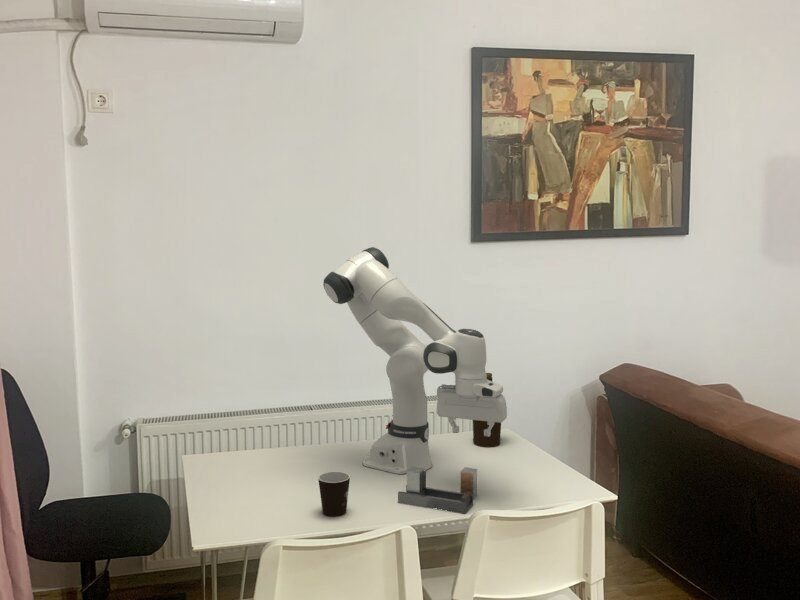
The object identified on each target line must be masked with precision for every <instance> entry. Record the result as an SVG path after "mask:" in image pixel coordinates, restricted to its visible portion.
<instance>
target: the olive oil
mask: <svg viewBox="0 0 800 600" xmlns="http://www.w3.org/2000/svg"><path fill="white" fill-rule="evenodd" d="M486 375H487V380H490V381H492V382H493V374H492V373H491V372H486ZM488 427H489V425H487V421H479V420H472V433H473V434H472V436H473V437H472V441H473V442H472V443H473V444H474V445H475V446H478V447H480V448H481V447H482V448H494V447H495V448H496V447H498V446H500V445H501V433H502V432H501V431H502V422H501V423H499V422H494V425H493V427H492V428H491V435H490V436H489V437H487V436H484V430H485V429H488Z"/></svg>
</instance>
